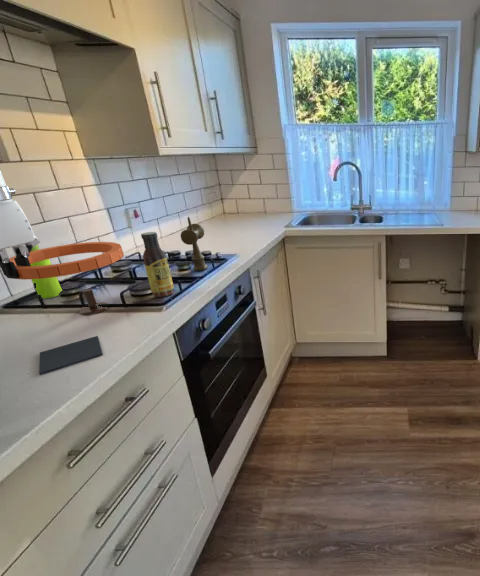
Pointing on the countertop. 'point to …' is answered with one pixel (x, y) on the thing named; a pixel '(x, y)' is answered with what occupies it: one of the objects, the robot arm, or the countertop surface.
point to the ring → (109, 256)
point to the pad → (69, 354)
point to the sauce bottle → (156, 266)
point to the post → (91, 304)
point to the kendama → (194, 244)
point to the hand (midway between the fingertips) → (20, 275)
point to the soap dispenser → (46, 281)
